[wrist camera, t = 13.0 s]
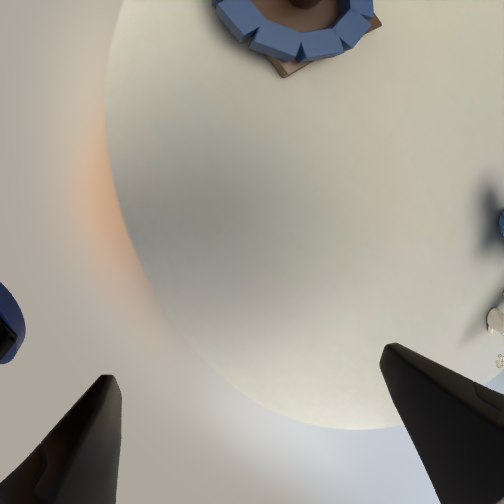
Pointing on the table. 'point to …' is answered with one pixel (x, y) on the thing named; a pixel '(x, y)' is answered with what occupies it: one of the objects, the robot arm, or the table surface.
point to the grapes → (502, 223)
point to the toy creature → (496, 327)
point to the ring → (291, 41)
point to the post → (301, 22)
